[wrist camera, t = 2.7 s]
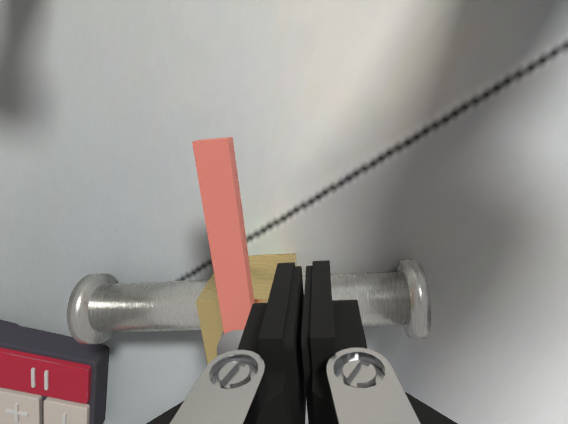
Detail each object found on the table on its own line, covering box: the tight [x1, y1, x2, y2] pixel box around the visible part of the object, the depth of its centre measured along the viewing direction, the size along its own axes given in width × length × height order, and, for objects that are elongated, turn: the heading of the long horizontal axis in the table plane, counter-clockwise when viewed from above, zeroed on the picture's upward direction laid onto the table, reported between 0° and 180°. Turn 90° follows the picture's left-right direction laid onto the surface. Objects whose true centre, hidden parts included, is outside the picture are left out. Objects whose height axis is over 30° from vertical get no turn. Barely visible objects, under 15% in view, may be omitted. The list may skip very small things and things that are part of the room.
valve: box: [67, 254, 431, 364], centre depth 31 cm, size 30×6×8 cm, turn 95°
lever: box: [192, 137, 255, 356], centre depth 24 cm, size 17×4×2 cm, turn 5°
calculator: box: [0, 320, 109, 424], centre depth 39 cm, size 11×4×15 cm
